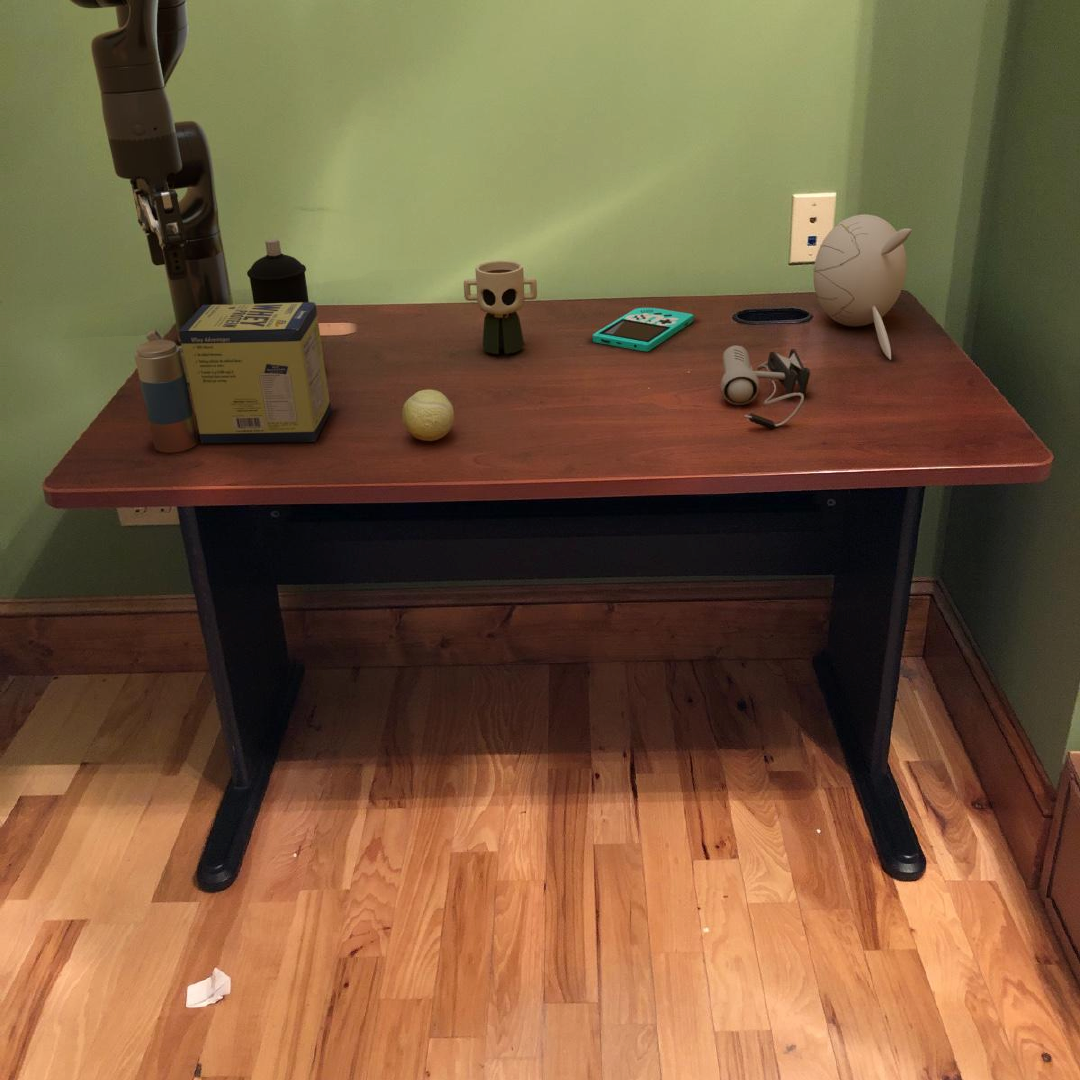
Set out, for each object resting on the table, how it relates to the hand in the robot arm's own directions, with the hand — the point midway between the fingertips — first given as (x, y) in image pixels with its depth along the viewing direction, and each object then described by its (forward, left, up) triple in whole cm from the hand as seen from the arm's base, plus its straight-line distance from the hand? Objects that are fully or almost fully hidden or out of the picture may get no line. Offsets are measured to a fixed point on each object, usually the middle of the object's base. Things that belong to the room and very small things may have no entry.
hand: (170, 271), depth 139 cm
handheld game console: (-21, +68, -23) cm, 74 cm away
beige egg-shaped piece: (-10, +99, -23) cm, 102 cm away
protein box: (-1, +8, -23) cm, 24 cm away
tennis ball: (+9, +29, -23) cm, 38 cm away
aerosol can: (-20, +13, -23) cm, 33 cm away
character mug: (-20, +45, -23) cm, 54 cm away
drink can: (0, -3, -23) cm, 23 cm away
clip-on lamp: (+12, +74, -23) cm, 78 cm away
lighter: (-23, -3, -23) cm, 32 cm away
